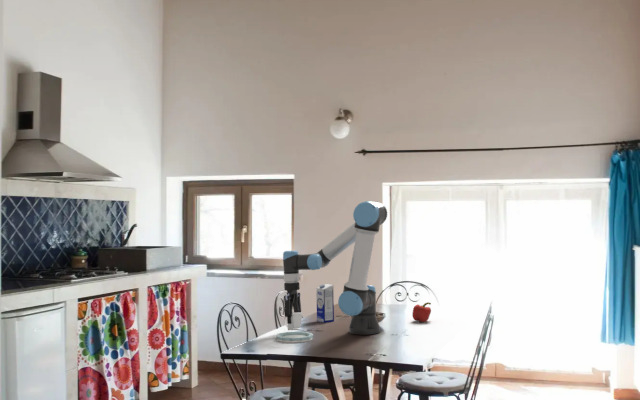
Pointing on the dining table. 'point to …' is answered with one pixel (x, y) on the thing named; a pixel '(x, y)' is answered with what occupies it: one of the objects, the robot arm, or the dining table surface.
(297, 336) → the saucer
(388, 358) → the dining table surface
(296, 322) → the cup
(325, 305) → the milk carton
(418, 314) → the vegetable
